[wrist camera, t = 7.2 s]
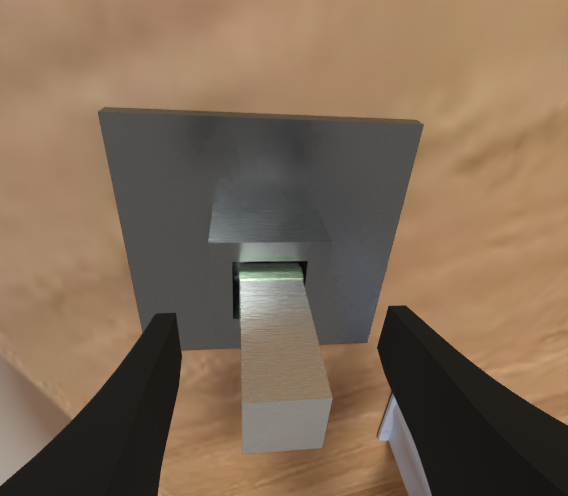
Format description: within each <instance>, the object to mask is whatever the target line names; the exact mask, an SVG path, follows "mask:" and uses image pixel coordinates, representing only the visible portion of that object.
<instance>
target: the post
mask: <svg viewBox="0 0 568 496" xmlns="http://www.w3.org/2000/svg"><path fill="white" fill-rule="evenodd" d="M239 314H240V327H241V404H242V454H253V453H266V452H278V451H291V450H304V449H317V448H322V446H323V442H324V437H325V432H326V428H327V423H328V418H329V413H330V409H331V404H332V399H333V397H332V393H331V390H330V386H329V382H328V378H327V374H326V370H325V366H324V362H323V358H322V354H321V350H320V346H319V342H318V338H317V334H316V330H315V326H314V323H313V319H312V315H311V311H310V307H309V303H308V299H307V295H306V291H305V287H304V283H303V274H302V270H301V266H299V263H240V267H239Z"/></svg>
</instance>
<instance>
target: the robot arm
mask: <svg viewBox="0 0 568 496" xmlns="http://www.w3.org/2000/svg"><path fill="white" fill-rule="evenodd" d="M377 349H378V352H379V356H380V360H381V363H382V366H383V370H384V373H385V376H386V378H387V381H388V383H389V385H390V388H391V390H392V392H393V393H392V396H391V399H390V402H389V404H388V407H387V410H386V413H385V416H384V419H383V422H382V424H381V427H380V430H379V433H378V439H379V440H380V441H389V443H390V446H391V449H392V452H393V454H394V457H395V460H396V463H397V466H398V468H399V471H400V474H401V477H402V479H403V482H404V485H405V488H406V491H407V493H408V496H568V425H566V424H564V423H562V422H561V421H559V420H557V419H555V418H554V417H552V416H550V415H549V414H547V413H545V412H544V411H542V410H540V409H539V408H537V407H535V406H534V405H532V404H530V403H529V402H527V401H526V400H524V399H523V398H521V397H519V396H518V395H516V394H515V393H513V392H512V391H511V390H509V389H508V388H506V387H505V386H503V385H502V384H500V383H499V382H497V381H496V380H495V379H493V378H492V377H490V376H489V375H488V374H486V373H485V372H484V371H482V370H481V369H480V368H479V367H477V366H476V365H475V364H473V363H472V362H471V361H470V360H468V359H467V358H466V357H465V356H463V355H462V354H461V353H460V352H458V351H457V350H456V349H455V348H454V347H452V346H451V345H450V344H449V343H448V342H447V341H445V340H444V339H443V338H442V337H441V336H440V335H439V334H437V333H436V332H435V331H434V330H433V329H432V328H431V327H429V326H428V325H427V324H426V323H425V322H424V321H423V320H422V319H420V318H419V317H418V316H417V315H416V314H415V313H414V312H413V311H411V310H410V309H409V308H408V307H407V306H389V307H388V310H387V314H386V318H385V321H384V325H383V328H382V332H381V335H380V339H379V342H378V346H377ZM181 360H182V354H181V346H180V339H179V331H178V324H177V316H176V313H156V314H155V315H154V316H153V318H152V319H151V321H150V322H149V324H148V326H147V327H146V329H145V330H144V332H143V333H142V335H141V336H140V338H139V339H138V341H137V342H136V344H135V345H134V346H133V348H132V349H131V351H130V352H129V353H128V355H127V356H126V357H125V359H124V360H123V361H122V363H121V364H120V365H119V367H118V368H117V369H116V371H115V372H114V373H113V374H112V376H111V377H110V378H109V379H108V380H107V382H106V383H105V384H104V385H103V387H102V388H101V389H100V390H99V391H98V393H97V394H96V395H95V396H94V397H93V398H92V399H91V401H90V402H89V403H88V404H87V405H86V406H85V407H84V408H83V409H82V410H81V411H80V412H79V414H78V415H77V416H76V417H75V418H74V419H73V420H72V421H71V422H70V423H69V424H68V425H67V426H66V427H65V428H64V429H63V430H62V431H61V432H60V433H59V434H58V435H57V436H56V437H55V438H54V439H53V440H52V441H51V442H50V443H49V444H48V445H46V446H45V447H44V448H43V449H42V450H41V451H40V452H39V453H38V454H37V455H36V456H35V457H33V458H32V459H31V460H30V461H29V462H28V463H27V464H25V465H24V466H23V467H22V468H21V469H20V470H19V471H17V472H16V473H15V474H14V475H13V476H12V477H10V478H9V479H8V480H7V481H6V482H5V483H3V484H2V485H1V486H0V496H157V495H158V487H159V479H160V472H161V466H162V461H163V455H164V451H165V446H166V442H167V437H168V433H169V428H170V424H171V419H172V415H173V410H174V406H175V401H176V397H177V392H178V387H179V379H180V370H181Z"/></svg>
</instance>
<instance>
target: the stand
mask: <svg viewBox="0 0 568 496" xmlns="http://www.w3.org/2000/svg"><path fill="white" fill-rule="evenodd" d="M98 115H99V120H100V125H101V130H102V135H103V140H104V145H105V150H106V155H107V159H108V164H109V169H110V174H111V179H112V184H113V189H114V194H115V199H116V204H117V209H118V214H119V219H120V224H121V229H122V233H123V238H124V243H125V248H126V253H127V258H128V263H129V268H130V273H131V278H132V283H133V288H134V293H135V298H136V302H137V307H138V312H139V317H140V322H141V327H142V332H144V330H145V329H146V327H147V326H148V324H149V322H150V321H151V319H152V318H153V316H154V315H155V314H156V313H176V316H177V324H178V331H179V339H180V346H181V350H201V349H225V348H241V327H240V314H239V267H240V263H299V266H301V270H302V274H303V283H304V287H305V291H306V295H307V299H308V303H309V307H310V311H311V315H312V319H313V323H314V326H315V330H316V334H317V338H318V342H319V345H322V344H346V343H367V341H368V337H369V334H370V330H371V326H372V322H373V318H374V314H375V310H376V307H377V303H378V299H379V295H380V291H381V287H382V283H383V280H384V276H385V272H386V268H387V264H388V260H389V256H390V253H391V249H392V245H393V241H394V237H395V233H396V229H397V226H398V222H399V218H400V214H401V210H402V206H403V203H404V199H405V195H406V191H407V187H408V183H409V179H410V176H411V172H412V168H413V164H414V160H415V156H416V152H417V149H418V145H419V141H420V137H421V133H422V129H423V125H424V124H422V123H420V122H419V121H417V120H405V119H380V118H355V117H331V116H306V115H281V114H257V113H232V112H208V111H183V110H158V109H134V108H109V107H104V108H103V109H101V110H100V111H98Z"/></svg>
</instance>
